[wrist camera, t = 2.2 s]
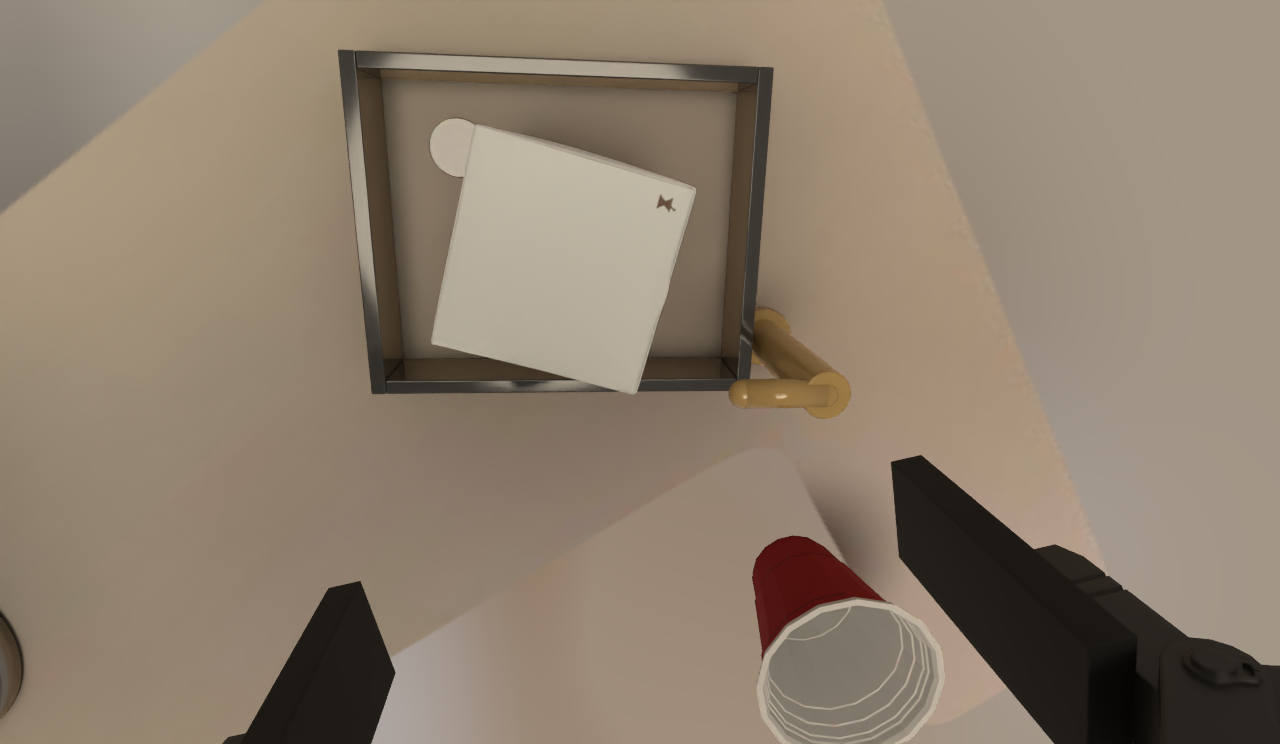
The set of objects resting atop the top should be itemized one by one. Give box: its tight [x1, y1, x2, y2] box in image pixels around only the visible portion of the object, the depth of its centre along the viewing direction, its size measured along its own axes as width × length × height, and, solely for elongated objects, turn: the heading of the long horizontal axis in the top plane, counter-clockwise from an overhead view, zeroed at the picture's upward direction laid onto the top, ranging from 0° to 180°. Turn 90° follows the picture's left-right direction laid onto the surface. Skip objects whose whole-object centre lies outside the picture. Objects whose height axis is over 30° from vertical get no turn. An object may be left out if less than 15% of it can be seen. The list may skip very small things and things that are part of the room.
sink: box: [338, 50, 851, 419], centre depth 35 cm, size 25×18×12 cm
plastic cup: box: [752, 536, 945, 744], centre depth 43 cm, size 11×11×12 cm
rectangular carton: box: [431, 124, 696, 395], centre depth 33 cm, size 9×9×15 cm
